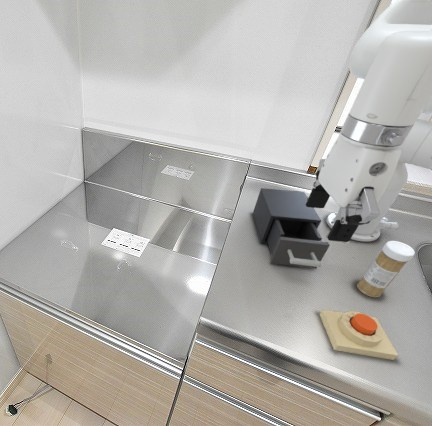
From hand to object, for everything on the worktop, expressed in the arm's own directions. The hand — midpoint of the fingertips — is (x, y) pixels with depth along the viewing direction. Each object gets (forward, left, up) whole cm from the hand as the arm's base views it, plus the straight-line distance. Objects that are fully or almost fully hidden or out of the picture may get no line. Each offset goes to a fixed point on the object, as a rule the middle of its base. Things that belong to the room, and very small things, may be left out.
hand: (324, 222), depth 53 cm
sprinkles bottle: (-19, -6, -22) cm, 30 cm away
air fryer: (-4, -25, -22) cm, 33 cm away
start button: (-11, +7, -19) cm, 23 cm away
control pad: (-11, +7, -22) cm, 25 cm away
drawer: (-4, -14, -21) cm, 26 cm away
